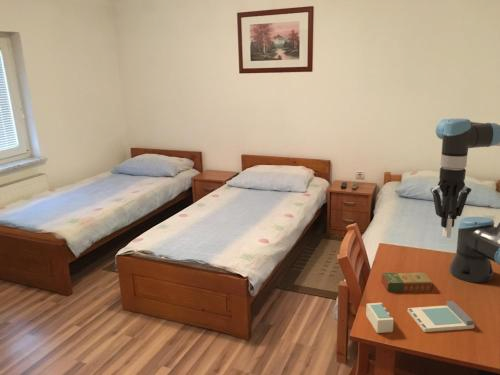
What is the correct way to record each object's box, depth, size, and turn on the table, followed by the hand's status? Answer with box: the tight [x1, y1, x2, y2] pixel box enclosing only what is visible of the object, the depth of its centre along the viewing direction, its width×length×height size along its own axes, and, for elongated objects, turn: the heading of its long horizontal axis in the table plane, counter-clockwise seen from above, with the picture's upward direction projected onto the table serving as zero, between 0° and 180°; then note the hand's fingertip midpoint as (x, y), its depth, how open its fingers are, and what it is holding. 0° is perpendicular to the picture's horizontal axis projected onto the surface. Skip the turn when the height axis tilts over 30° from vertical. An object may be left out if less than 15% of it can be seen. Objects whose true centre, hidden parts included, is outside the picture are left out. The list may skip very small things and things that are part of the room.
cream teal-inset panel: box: [407, 300, 475, 333], centre depth 139 cm, size 16×12×3 cm
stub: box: [365, 302, 394, 334], centre depth 137 cm, size 5×10×4 cm, turn 5°
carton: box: [380, 271, 433, 293], centre depth 161 cm, size 8×16×4 cm, turn 89°
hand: (446, 235), depth 144 cm, fingers closed
